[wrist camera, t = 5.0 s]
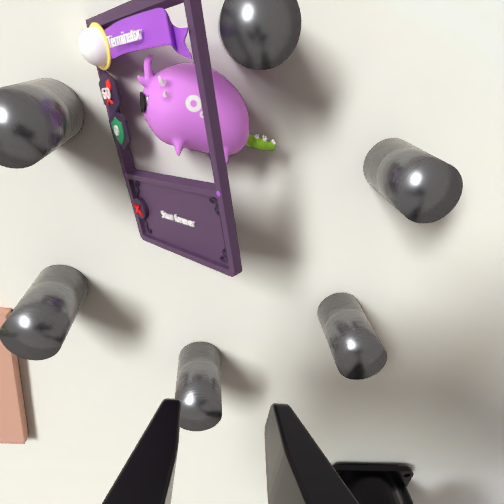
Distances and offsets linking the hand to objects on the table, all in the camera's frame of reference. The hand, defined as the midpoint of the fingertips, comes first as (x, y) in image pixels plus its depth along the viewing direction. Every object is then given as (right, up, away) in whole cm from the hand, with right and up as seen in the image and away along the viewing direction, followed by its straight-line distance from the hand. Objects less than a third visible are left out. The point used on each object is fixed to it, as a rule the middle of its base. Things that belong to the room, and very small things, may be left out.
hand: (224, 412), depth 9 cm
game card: (-1, +4, +8) cm, 9 cm away
